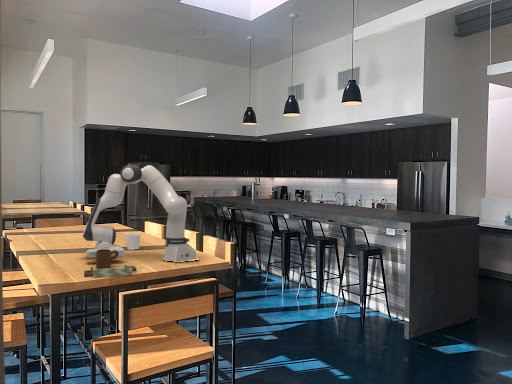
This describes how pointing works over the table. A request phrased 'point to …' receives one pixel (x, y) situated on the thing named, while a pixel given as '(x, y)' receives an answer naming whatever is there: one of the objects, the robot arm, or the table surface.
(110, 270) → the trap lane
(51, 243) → the table surface
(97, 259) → the mug
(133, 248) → the mug
